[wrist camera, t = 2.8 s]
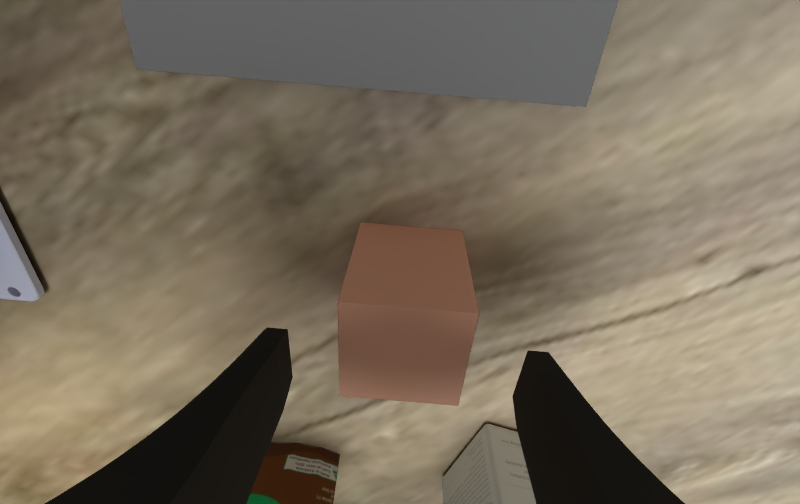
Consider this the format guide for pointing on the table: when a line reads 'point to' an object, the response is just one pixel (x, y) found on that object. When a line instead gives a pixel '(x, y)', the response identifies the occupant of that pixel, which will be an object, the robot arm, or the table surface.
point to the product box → (489, 471)
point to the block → (406, 315)
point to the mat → (382, 44)
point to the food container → (296, 475)
